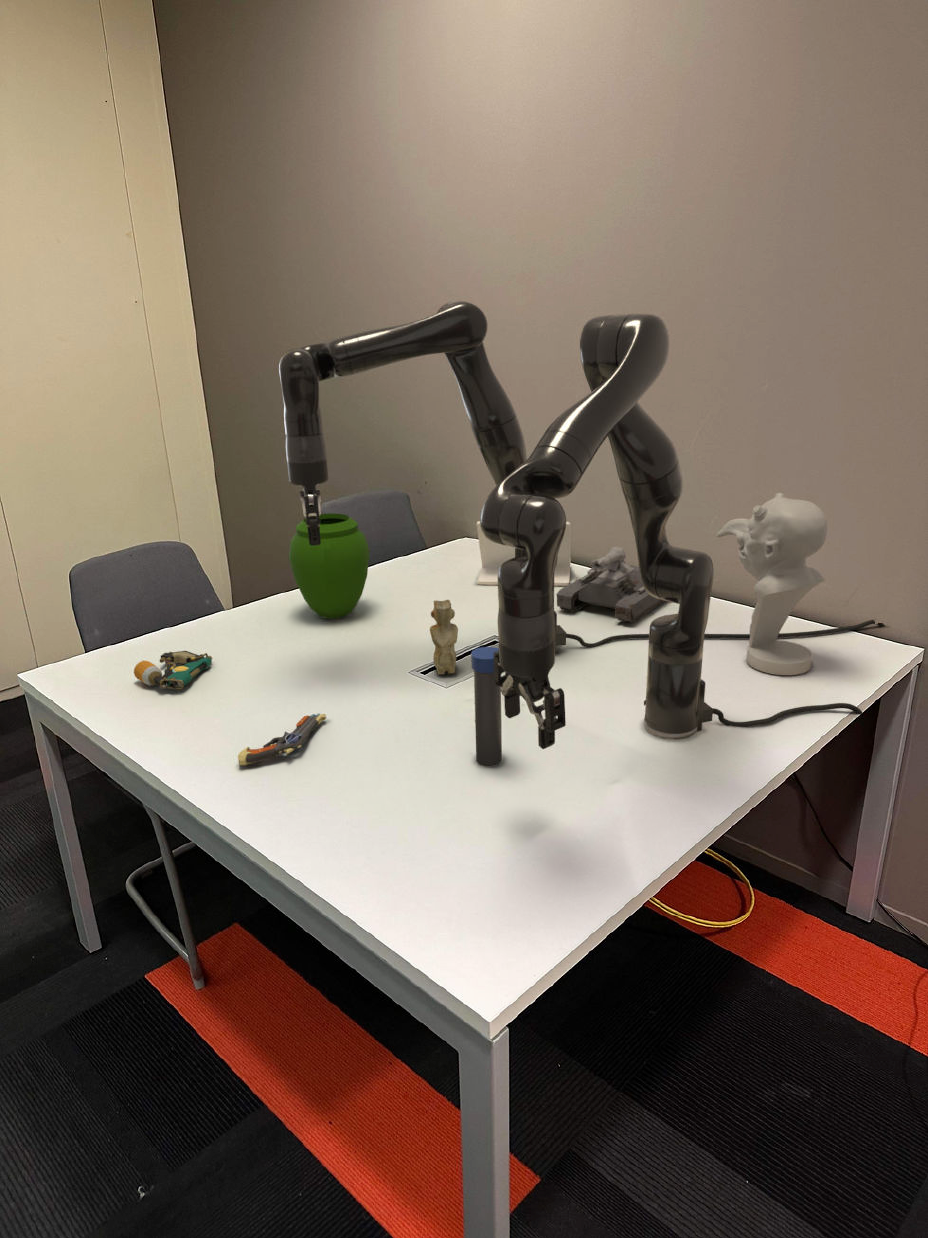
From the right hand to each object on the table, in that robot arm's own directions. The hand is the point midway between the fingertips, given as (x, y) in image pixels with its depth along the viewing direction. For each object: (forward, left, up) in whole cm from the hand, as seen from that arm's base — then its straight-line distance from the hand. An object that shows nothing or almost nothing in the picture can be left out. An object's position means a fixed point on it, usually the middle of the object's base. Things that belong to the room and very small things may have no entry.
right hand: (529, 730), depth 122 cm
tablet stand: (-42, -113, -15) cm, 121 cm away
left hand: (+21, -65, +14) cm, 70 cm away
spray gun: (+51, -74, -15) cm, 92 cm away
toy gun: (+33, -37, -15) cm, 52 cm away
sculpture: (-3, -57, -15) cm, 60 cm away
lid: (0, -19, +4) cm, 20 cm away
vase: (+14, -100, -15) cm, 103 cm away
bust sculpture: (-67, -40, -15) cm, 80 cm away
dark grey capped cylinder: (0, -19, -15) cm, 25 cm away
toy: (-54, -81, -15) cm, 99 cm away
